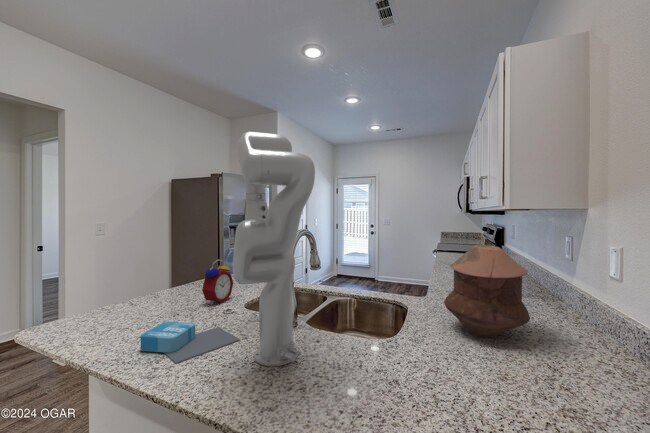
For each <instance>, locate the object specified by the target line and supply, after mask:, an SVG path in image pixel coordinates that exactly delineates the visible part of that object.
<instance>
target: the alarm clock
mask: <svg viewBox="0 0 650 433" xmlns="http://www.w3.org/2000/svg"><path fill="white" fill-rule="evenodd" d="M218 261H219V262H222V265H218V267H217V268H215V267H214V264H215V263H216V262H218ZM204 277H205V278H204V280H203V281H202V283H203V284H202V289H201V291H202V294H203V296H204V300H205V301H208V302H209V301H210V306H213V305H214V303H225V302H226V301H227V300H228V299H229V297H230V296H231V295H232V292H233V286H234V280H233V277H232V273H231V269H230V266H226V263H225V264H224V260H223V259H217V260H215V261H214V262H212V267H211V268H209V269H207V270H206V272H205V275H204Z"/></svg>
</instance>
